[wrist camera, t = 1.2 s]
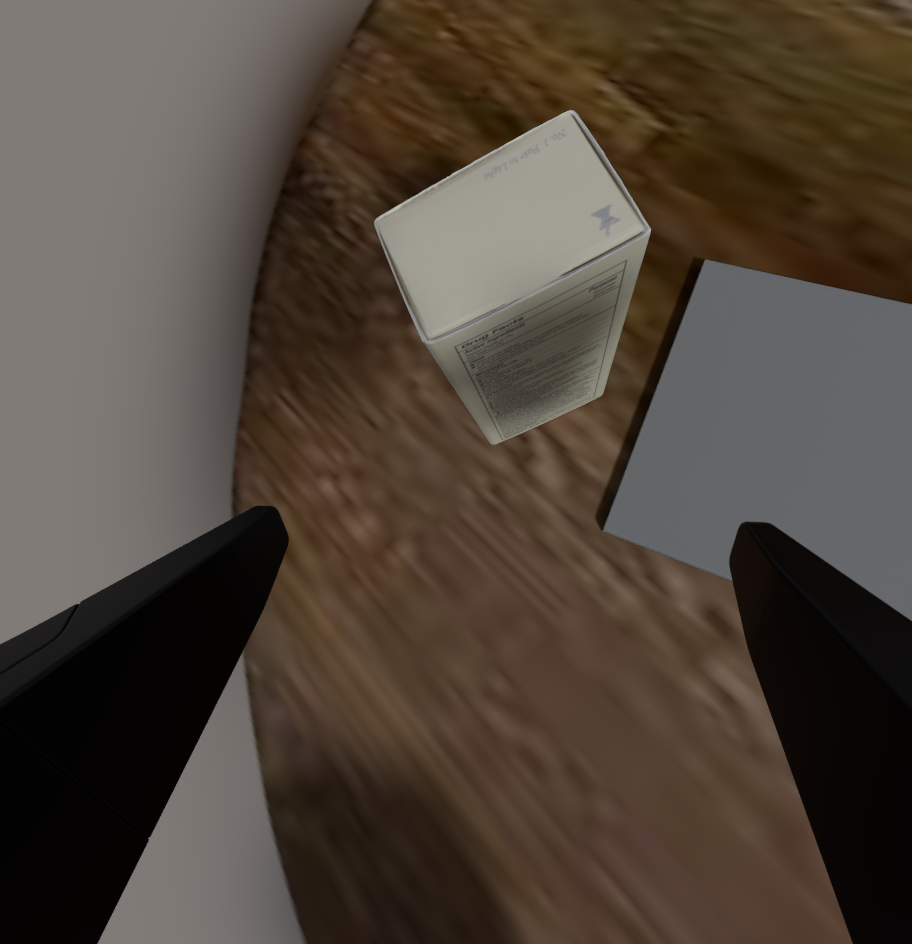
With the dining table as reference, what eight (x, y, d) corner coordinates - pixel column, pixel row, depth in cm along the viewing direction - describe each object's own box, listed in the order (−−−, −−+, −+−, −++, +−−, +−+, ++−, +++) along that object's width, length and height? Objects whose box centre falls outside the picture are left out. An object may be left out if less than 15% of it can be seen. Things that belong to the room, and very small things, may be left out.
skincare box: (567, 326, 23) (580, 95, 12) (606, 399, 22) (664, 227, 11) (456, 378, 24) (365, 211, 12) (489, 453, 23) (423, 346, 11)
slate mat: (898, 645, 18) (909, 648, 18) (601, 531, 21) (603, 530, 21) (993, 332, 19) (1007, 325, 19) (701, 266, 23) (705, 259, 22)
